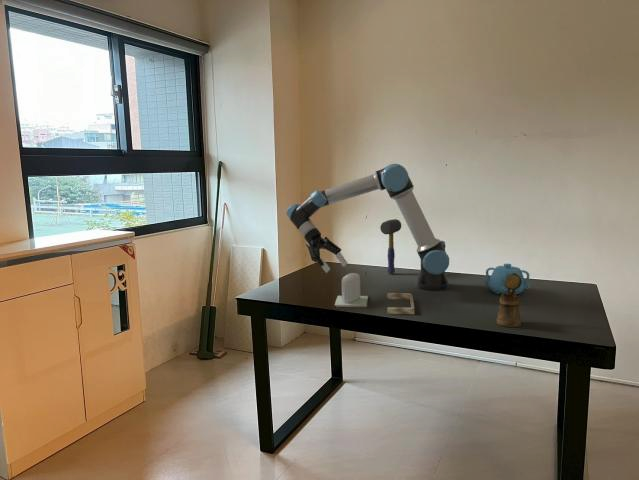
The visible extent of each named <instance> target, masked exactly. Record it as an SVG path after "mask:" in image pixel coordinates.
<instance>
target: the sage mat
mask: <svg viewBox="0 0 639 480" xmlns="http://www.w3.org/2000/svg"><path fill="white" fill-rule="evenodd" d="M368 300H369V296H368V295H360V298H359V299H357V300H355V301H352V302H350V303H343V302H342V295H337V297H336V300H335V303H334V307H335V306H336V307H337V308H340V307H341V308H344V307H345V308H352V307H353V308H367V307H368Z"/></svg>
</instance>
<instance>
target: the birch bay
mask: <svg viewBox="0 0 639 480" xmlns="http://www.w3.org/2000/svg"><path fill="white" fill-rule="evenodd" d="M386 295H387V297H386V299H387V300H409V304H410V307H386V308H387V311H386V312H387V315H415V303H414V298H413V293H409V292H408V293H405V292H402V293H401V292H399V293H398V292H397V293H395V292H391V293H390V292H388V293H387V294H386Z"/></svg>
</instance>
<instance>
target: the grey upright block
mask: <svg viewBox="0 0 639 480" xmlns="http://www.w3.org/2000/svg"><path fill="white" fill-rule="evenodd" d="M341 296H342V302H343V303H350V302H352V301H355V300H357V299H359V298H360V296H361V276H360V274H359V273H356V272H350V273H347V274H346V275H345V276H343V277H342V279H341Z"/></svg>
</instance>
